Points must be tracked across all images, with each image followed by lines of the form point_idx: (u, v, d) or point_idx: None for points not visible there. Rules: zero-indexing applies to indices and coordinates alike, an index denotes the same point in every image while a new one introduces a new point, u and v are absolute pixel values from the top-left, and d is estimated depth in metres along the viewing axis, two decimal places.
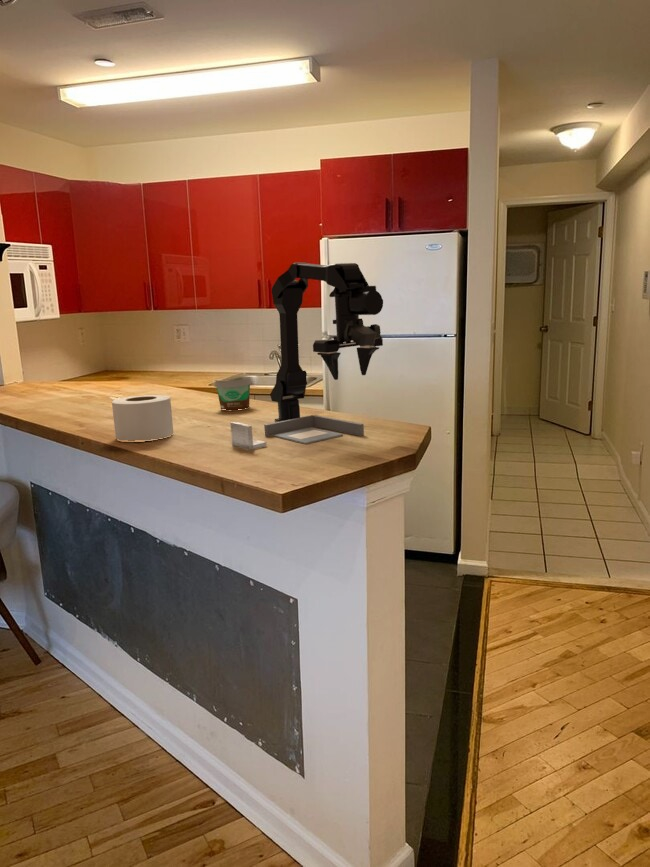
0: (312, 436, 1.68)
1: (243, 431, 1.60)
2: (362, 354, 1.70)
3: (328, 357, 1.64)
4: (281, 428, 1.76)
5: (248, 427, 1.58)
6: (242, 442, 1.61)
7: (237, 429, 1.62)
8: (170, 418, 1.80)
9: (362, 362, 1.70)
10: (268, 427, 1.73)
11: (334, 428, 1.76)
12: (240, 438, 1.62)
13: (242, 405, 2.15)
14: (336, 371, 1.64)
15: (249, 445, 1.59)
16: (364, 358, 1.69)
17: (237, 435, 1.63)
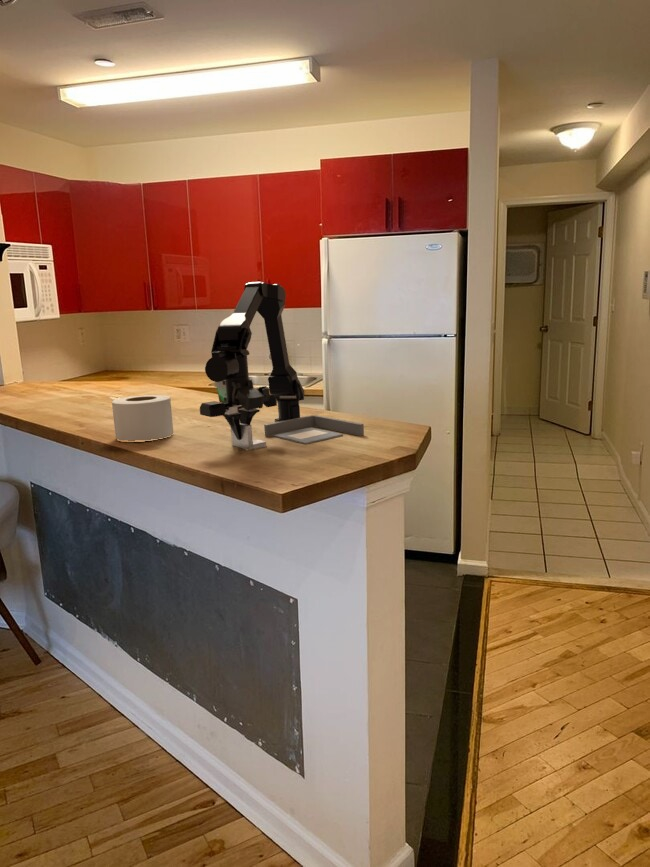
0: (312, 436, 1.68)
1: (243, 430, 1.60)
2: (243, 417, 1.62)
3: (230, 417, 1.61)
4: (281, 428, 1.76)
5: (248, 426, 1.58)
6: (242, 442, 1.61)
7: None
8: (170, 418, 1.80)
9: None
10: (268, 427, 1.73)
11: (334, 428, 1.76)
12: None
13: None
14: (238, 431, 1.60)
15: (249, 445, 1.59)
16: (244, 421, 1.62)
17: None
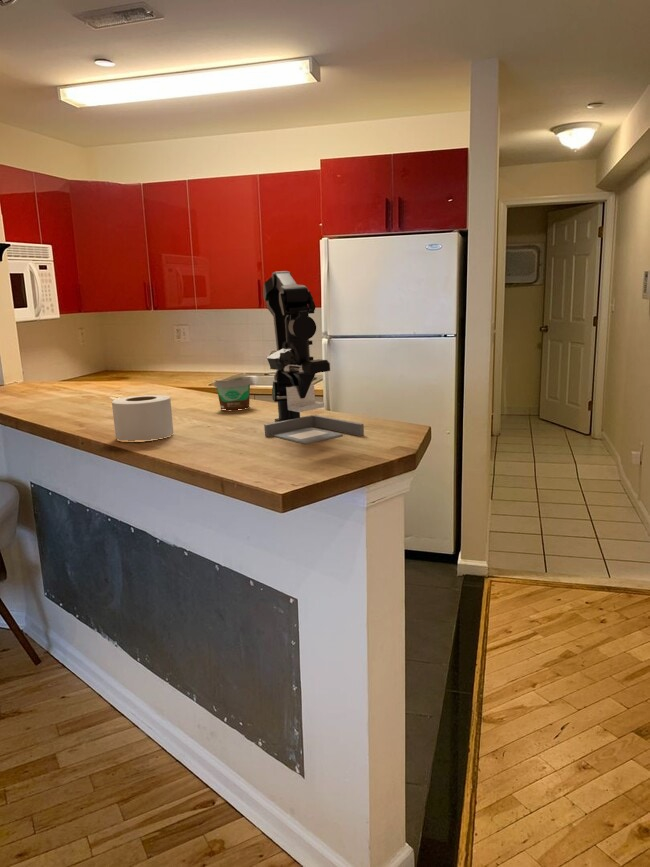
0: (312, 436, 1.68)
1: None
2: None
3: None
4: (281, 428, 1.76)
5: (286, 388, 1.68)
6: None
7: None
8: (170, 418, 1.80)
9: None
10: (268, 427, 1.73)
11: (334, 428, 1.76)
12: None
13: (242, 405, 2.15)
14: None
15: (288, 405, 1.69)
16: None
17: None
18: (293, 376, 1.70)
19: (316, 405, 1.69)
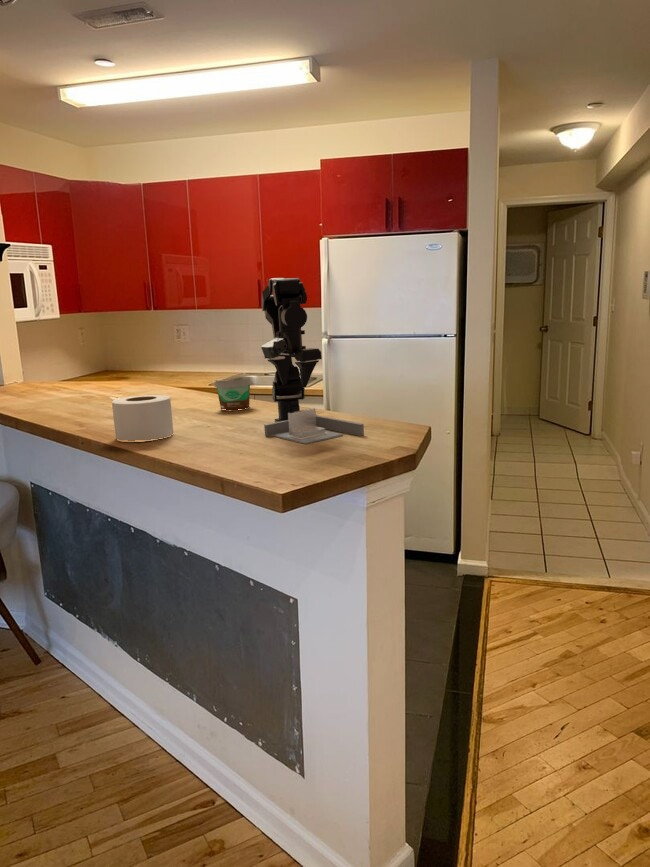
0: (312, 436, 1.68)
1: None
2: None
3: None
4: (281, 428, 1.76)
5: (288, 414, 1.69)
6: None
7: None
8: (170, 418, 1.80)
9: None
10: (268, 427, 1.73)
11: (334, 428, 1.76)
12: None
13: (242, 405, 2.15)
14: (280, 376, 1.80)
15: (289, 430, 1.70)
16: None
17: None
18: (278, 364, 1.79)
19: (317, 431, 1.70)
